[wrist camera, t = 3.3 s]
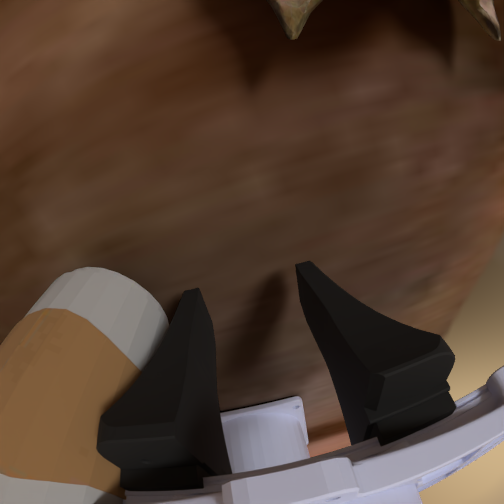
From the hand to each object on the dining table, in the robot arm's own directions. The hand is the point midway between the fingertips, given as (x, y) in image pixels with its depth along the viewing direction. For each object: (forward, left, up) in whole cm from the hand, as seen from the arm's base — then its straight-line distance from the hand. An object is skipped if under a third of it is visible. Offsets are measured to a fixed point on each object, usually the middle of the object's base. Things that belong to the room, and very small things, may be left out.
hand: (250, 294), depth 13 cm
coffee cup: (0, +7, -1) cm, 7 cm away
